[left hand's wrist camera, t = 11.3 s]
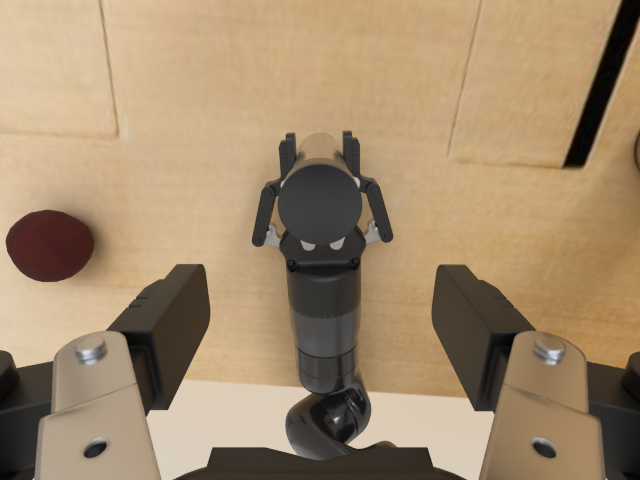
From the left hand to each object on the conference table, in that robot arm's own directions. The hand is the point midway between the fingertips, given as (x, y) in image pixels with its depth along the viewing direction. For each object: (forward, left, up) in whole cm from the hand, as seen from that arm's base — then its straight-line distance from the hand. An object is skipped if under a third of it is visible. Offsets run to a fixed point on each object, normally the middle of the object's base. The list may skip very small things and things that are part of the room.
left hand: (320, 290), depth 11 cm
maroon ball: (+30, +1, -30) cm, 43 cm away
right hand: (-1, -3, -23) cm, 23 cm away
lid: (0, 0, -10) cm, 10 cm away
